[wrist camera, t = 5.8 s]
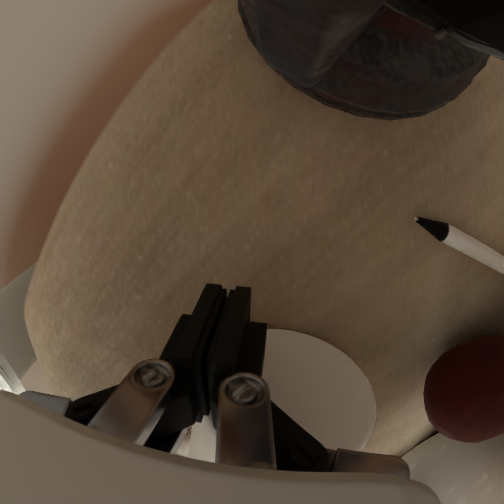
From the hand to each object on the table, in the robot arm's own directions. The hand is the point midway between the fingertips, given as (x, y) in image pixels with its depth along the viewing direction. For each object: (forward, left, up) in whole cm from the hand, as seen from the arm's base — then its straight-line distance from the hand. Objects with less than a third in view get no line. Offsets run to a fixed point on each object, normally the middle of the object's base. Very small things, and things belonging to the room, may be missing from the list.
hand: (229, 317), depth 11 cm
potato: (+15, -5, -3) cm, 16 cm away
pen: (+17, +1, -3) cm, 17 cm away
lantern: (+5, +13, -3) cm, 14 cm away
